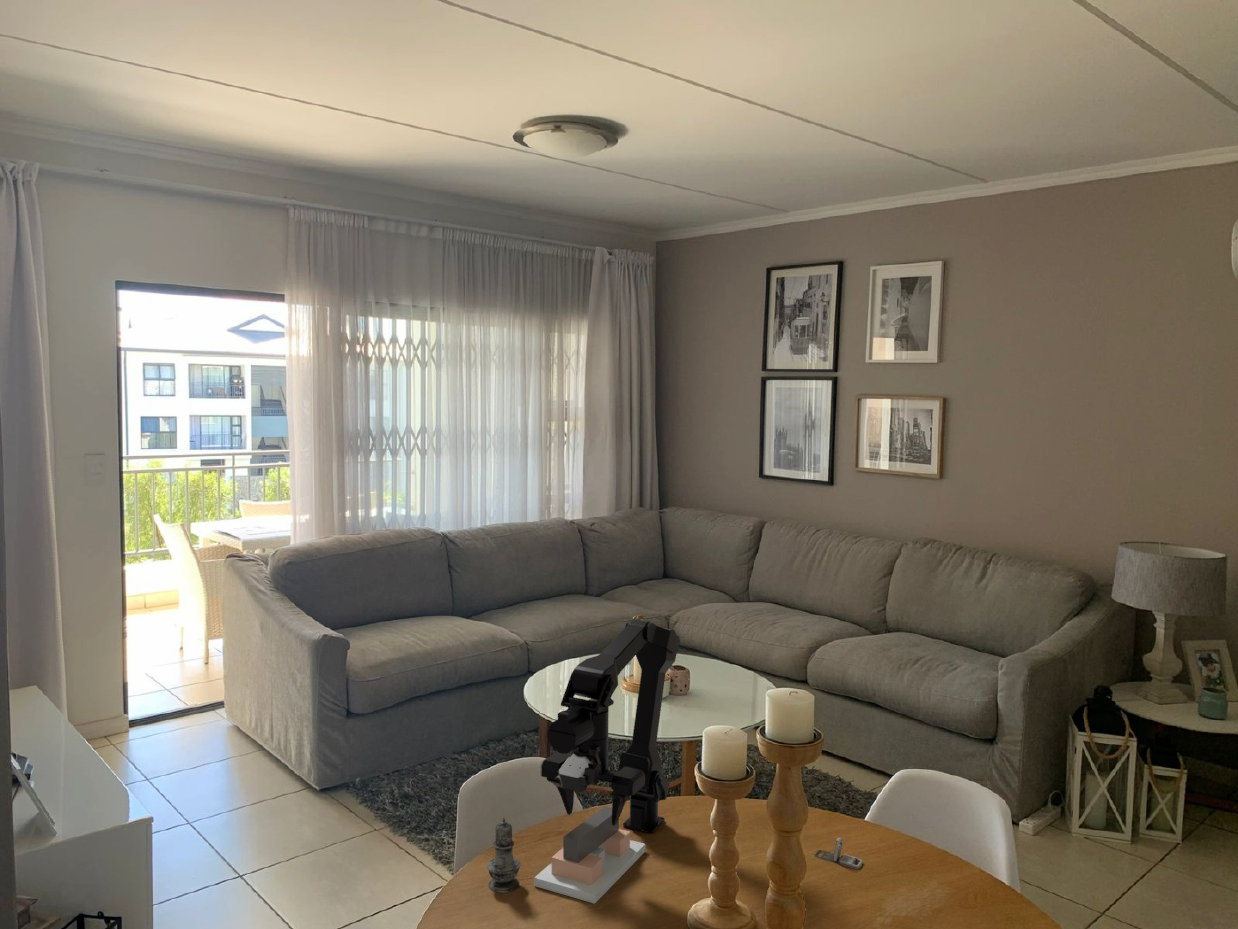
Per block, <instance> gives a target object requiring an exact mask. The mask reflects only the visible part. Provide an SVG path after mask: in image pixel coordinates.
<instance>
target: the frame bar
mask: <svg viewBox="0 0 1238 929" xmlns="http://www.w3.org/2000/svg"><path fill="white" fill-rule="evenodd" d="M619 820H620V818H619V819H618V822H617V824H616V825H615V826H613V825H612V807H609V806H606V805H604V806H603V807H602V808H601V809H599V810H597V812H595V813H594V814H592V815H591V816H590V817H588V818H587V819H585V820H584V821H583V822H581V823H580V824H578V825H577V826H576V827H575V828H573V829H572V830H571V831H569V832H567V833H566V834H565V835H563V844H562V845H563V847H562V848H563V859H566V860H569V861H572V862H575V863H579V862H580V861H581V860H582V859H584V858H585V857H586V856H587V855H589V854H590V853H591V852H592V851H594V850H595V849H596V848H597V847H599V846H600V845H601V844H602V843H604V842H605V841H606V840H608V839H609V838H610V837H611V836H613V835H614V834H615V833H616V832H618V831H619V829H620V827H619V826H620V824H619V822H620V821H619Z"/></svg>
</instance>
